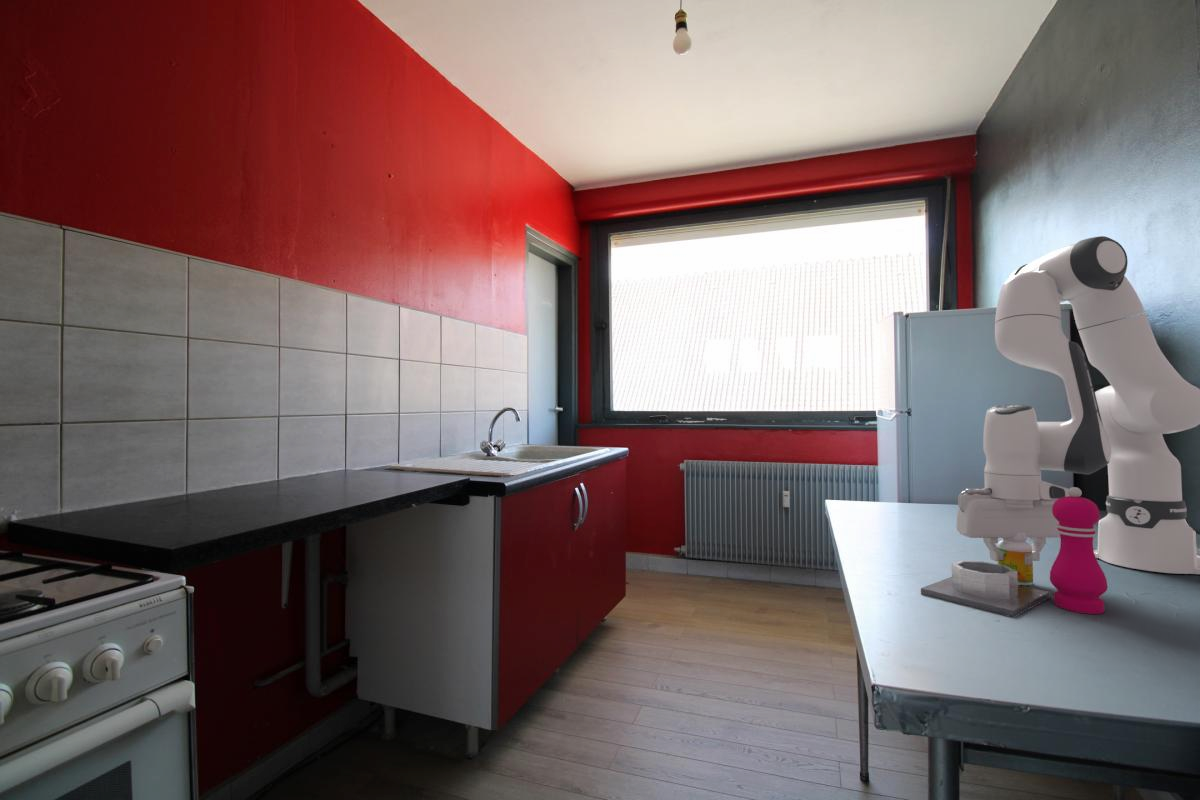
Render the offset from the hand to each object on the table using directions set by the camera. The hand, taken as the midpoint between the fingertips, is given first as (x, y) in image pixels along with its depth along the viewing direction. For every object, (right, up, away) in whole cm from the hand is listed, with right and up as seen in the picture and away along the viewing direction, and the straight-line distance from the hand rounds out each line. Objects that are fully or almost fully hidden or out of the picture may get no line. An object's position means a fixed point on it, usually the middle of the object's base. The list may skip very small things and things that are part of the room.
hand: (1014, 560), depth 104 cm
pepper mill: (0, -4, -14) cm, 15 cm away
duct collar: (-12, -4, -8) cm, 15 cm away
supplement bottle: (0, -4, 0) cm, 4 cm away
